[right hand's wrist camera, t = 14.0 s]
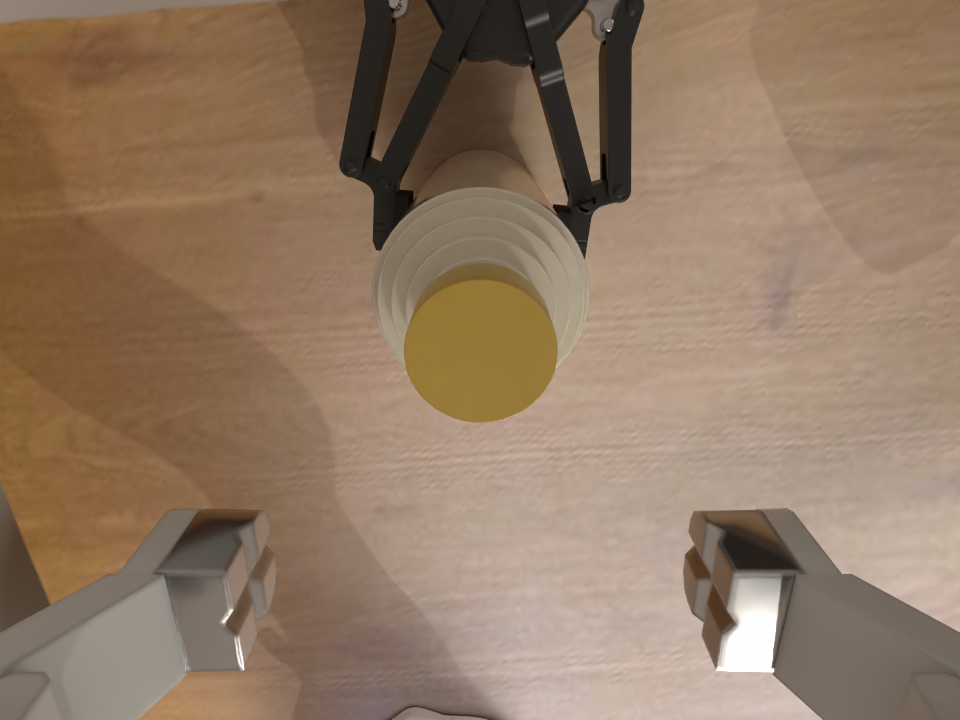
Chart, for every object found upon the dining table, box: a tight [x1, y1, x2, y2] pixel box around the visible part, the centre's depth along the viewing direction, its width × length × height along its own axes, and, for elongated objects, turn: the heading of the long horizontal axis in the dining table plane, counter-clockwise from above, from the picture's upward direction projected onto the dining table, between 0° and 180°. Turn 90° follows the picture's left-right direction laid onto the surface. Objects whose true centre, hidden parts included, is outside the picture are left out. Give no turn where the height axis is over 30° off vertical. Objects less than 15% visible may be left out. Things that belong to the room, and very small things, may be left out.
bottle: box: [372, 150, 590, 367], centre depth 30 cm, size 8×8×25 cm
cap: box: [404, 263, 558, 423], centre depth 19 cm, size 4×4×2 cm
